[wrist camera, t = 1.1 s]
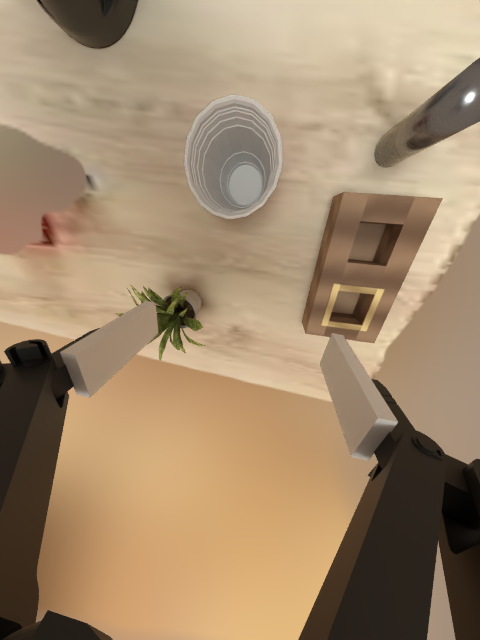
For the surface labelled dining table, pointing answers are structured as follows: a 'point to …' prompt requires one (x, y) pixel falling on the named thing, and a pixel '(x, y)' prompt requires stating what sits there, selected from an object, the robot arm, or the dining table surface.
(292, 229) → the dining table surface
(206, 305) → the dining table surface
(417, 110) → the pin
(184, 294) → the house plant
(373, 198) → the hole block
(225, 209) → the plastic cup
